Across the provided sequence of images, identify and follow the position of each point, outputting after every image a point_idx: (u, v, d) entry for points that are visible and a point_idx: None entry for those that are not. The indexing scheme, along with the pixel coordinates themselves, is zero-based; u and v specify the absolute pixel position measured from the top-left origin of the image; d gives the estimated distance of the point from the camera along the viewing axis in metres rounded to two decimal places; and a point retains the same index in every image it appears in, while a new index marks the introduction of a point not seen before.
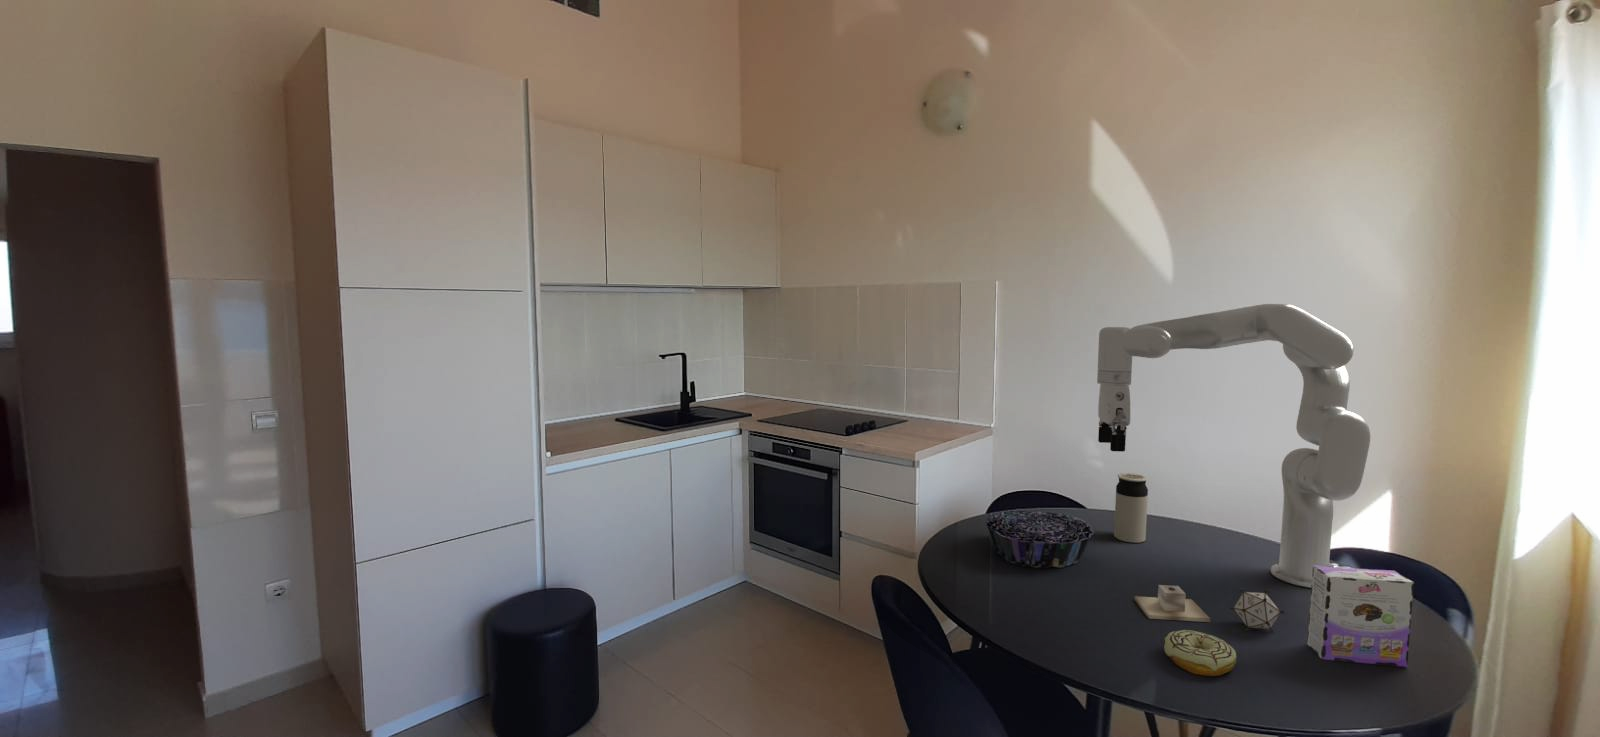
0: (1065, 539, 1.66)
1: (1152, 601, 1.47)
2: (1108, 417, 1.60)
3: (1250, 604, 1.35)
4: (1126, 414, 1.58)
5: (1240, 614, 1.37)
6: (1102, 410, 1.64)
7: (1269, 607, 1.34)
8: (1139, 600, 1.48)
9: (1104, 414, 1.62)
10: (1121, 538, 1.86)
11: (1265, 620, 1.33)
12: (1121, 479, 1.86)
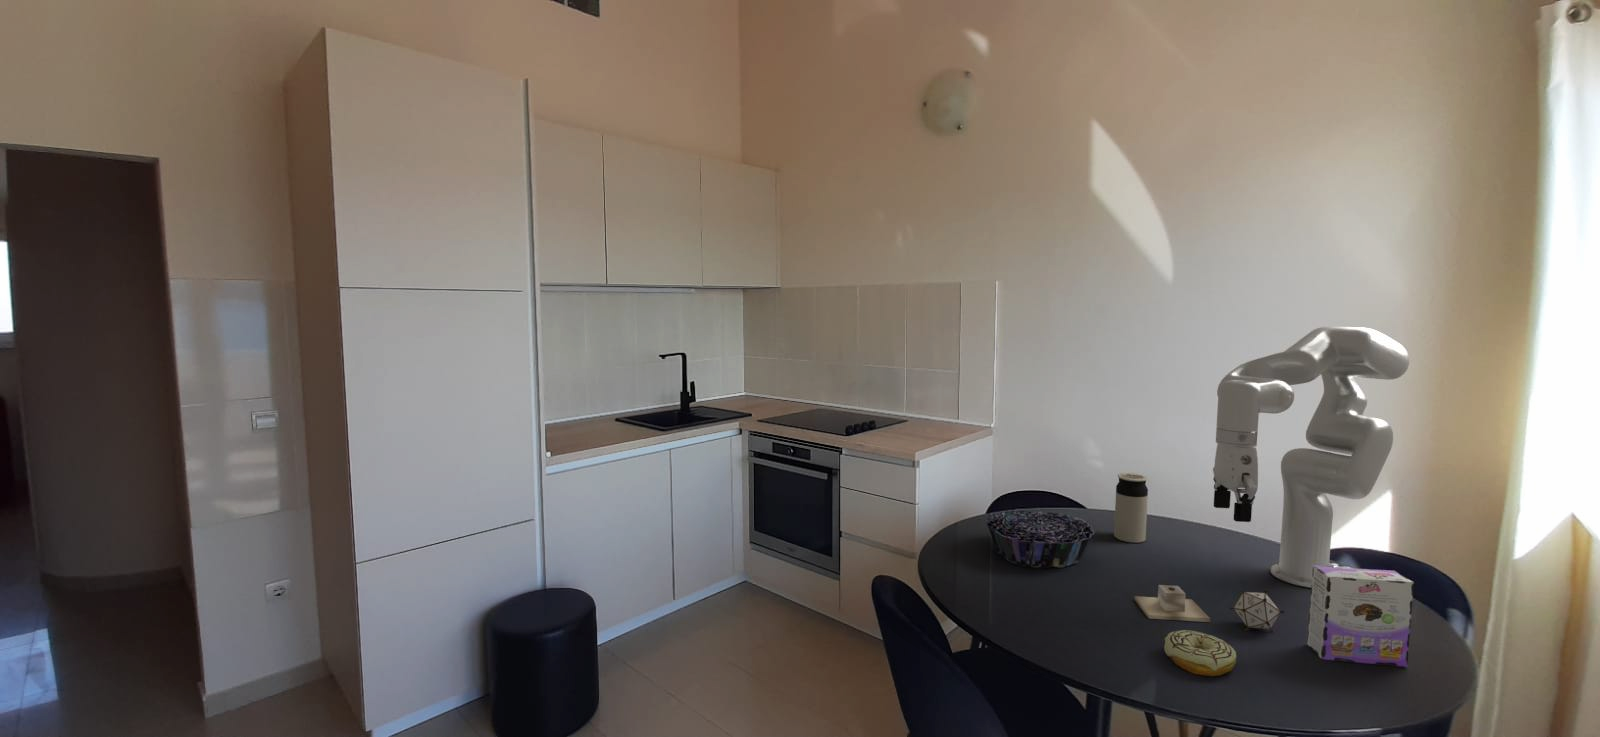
0: (1065, 539, 1.66)
1: (1152, 601, 1.47)
2: (1232, 482, 1.42)
3: (1250, 604, 1.35)
4: (1253, 480, 1.41)
5: (1240, 614, 1.37)
6: (1222, 473, 1.46)
7: (1269, 607, 1.34)
8: (1139, 600, 1.48)
9: (1225, 478, 1.45)
10: (1121, 538, 1.86)
11: (1265, 620, 1.33)
12: (1121, 479, 1.86)
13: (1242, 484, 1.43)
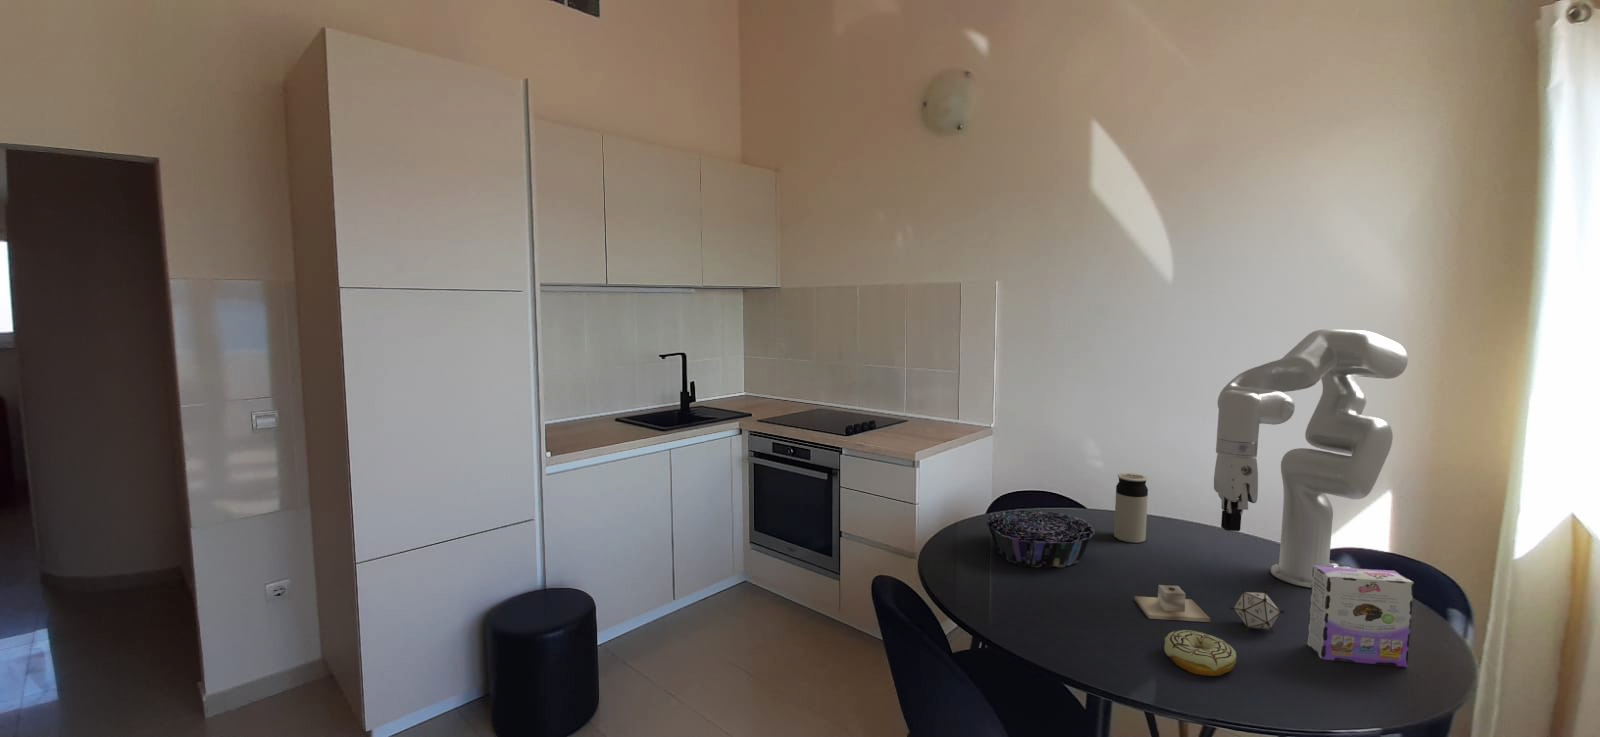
0: (1066, 539, 1.66)
1: (1152, 601, 1.47)
2: (1231, 493, 1.42)
3: (1250, 604, 1.35)
4: (1253, 491, 1.41)
5: (1240, 614, 1.37)
6: (1222, 483, 1.46)
7: (1269, 607, 1.34)
8: (1139, 600, 1.48)
9: (1225, 488, 1.45)
10: (1121, 538, 1.86)
11: (1265, 620, 1.33)
12: (1121, 479, 1.86)
13: None
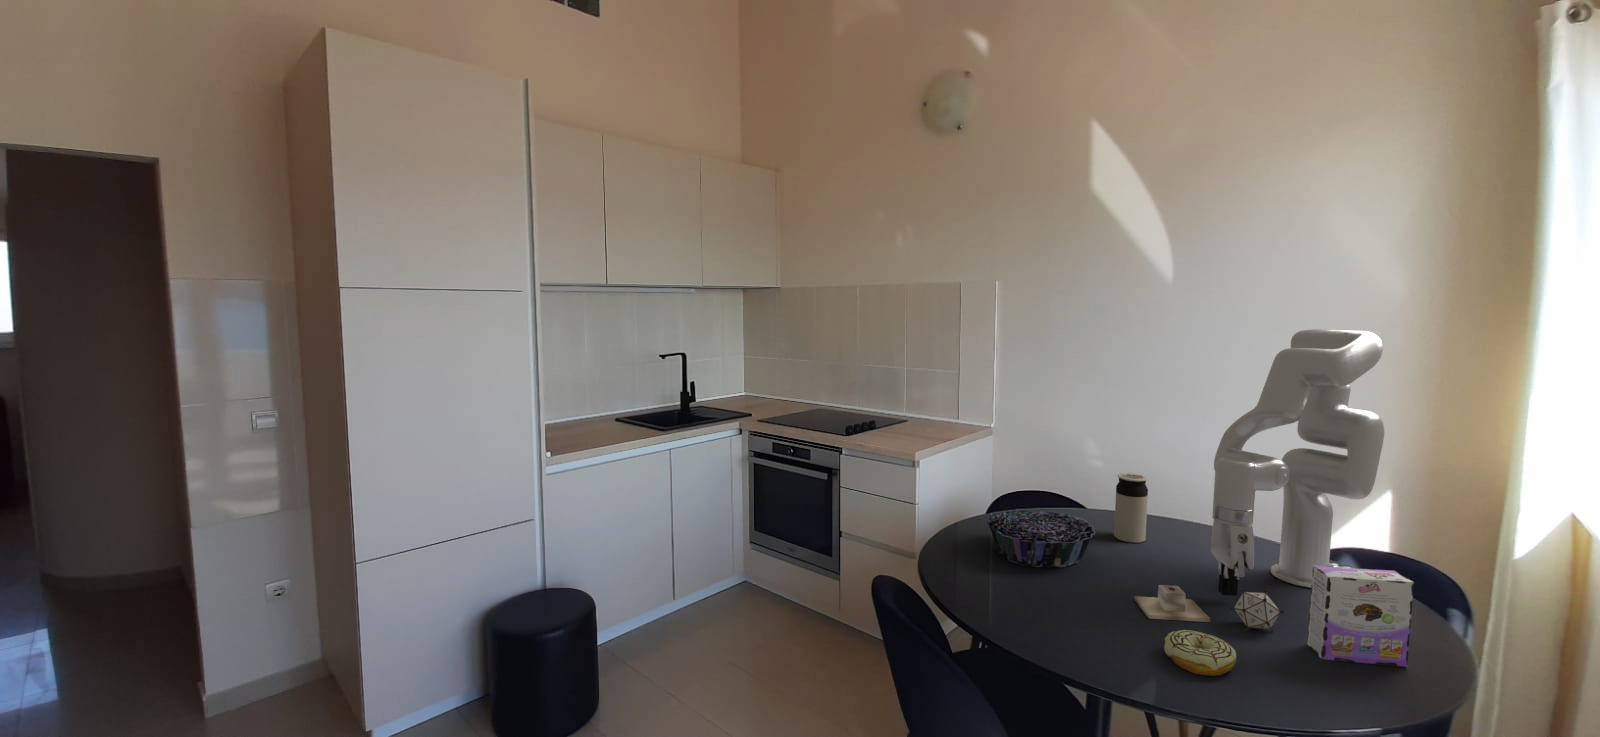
0: (1067, 539, 1.66)
1: (1152, 601, 1.47)
2: (1228, 560, 1.44)
3: (1250, 604, 1.35)
4: (1250, 558, 1.42)
5: (1240, 614, 1.37)
6: (1218, 548, 1.48)
7: (1269, 607, 1.34)
8: (1139, 600, 1.48)
9: (1222, 554, 1.46)
10: (1121, 538, 1.86)
11: (1265, 620, 1.33)
12: (1121, 479, 1.86)
13: None
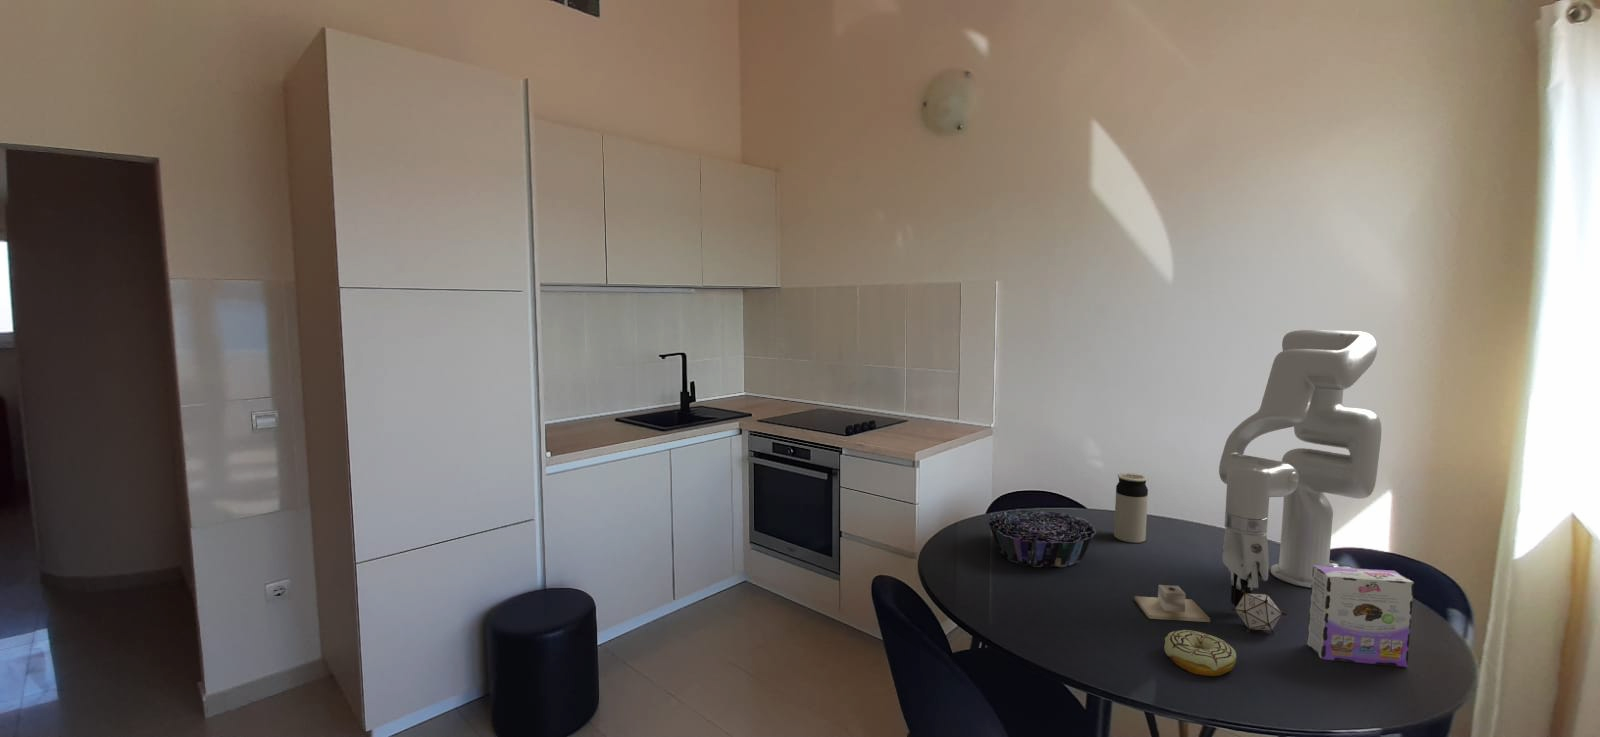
0: (1067, 539, 1.66)
1: (1152, 601, 1.47)
2: (1241, 570, 1.38)
3: (1251, 605, 1.34)
4: (1264, 569, 1.37)
5: (1241, 615, 1.36)
6: (1231, 558, 1.42)
7: (1270, 608, 1.33)
8: (1139, 600, 1.48)
9: (1234, 564, 1.41)
10: (1121, 538, 1.86)
11: (1266, 621, 1.32)
12: (1121, 479, 1.86)
13: None
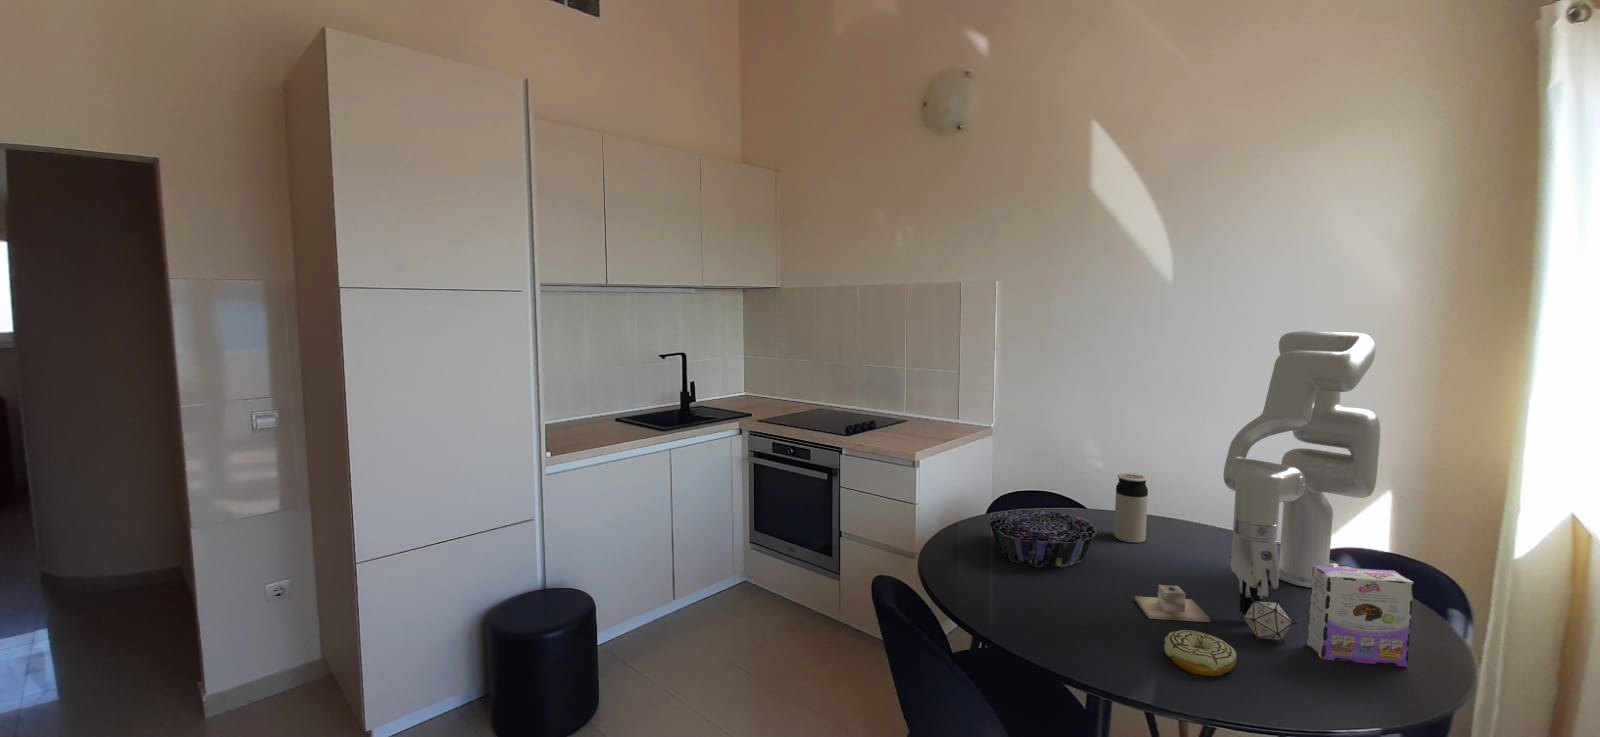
0: (1068, 539, 1.66)
1: (1152, 601, 1.47)
2: (1251, 578, 1.35)
3: (1260, 614, 1.31)
4: (1274, 577, 1.33)
5: (1250, 624, 1.33)
6: (1240, 565, 1.39)
7: (1280, 617, 1.29)
8: (1139, 600, 1.48)
9: (1243, 572, 1.37)
10: (1121, 538, 1.86)
11: (1275, 630, 1.29)
12: (1121, 479, 1.86)
13: None
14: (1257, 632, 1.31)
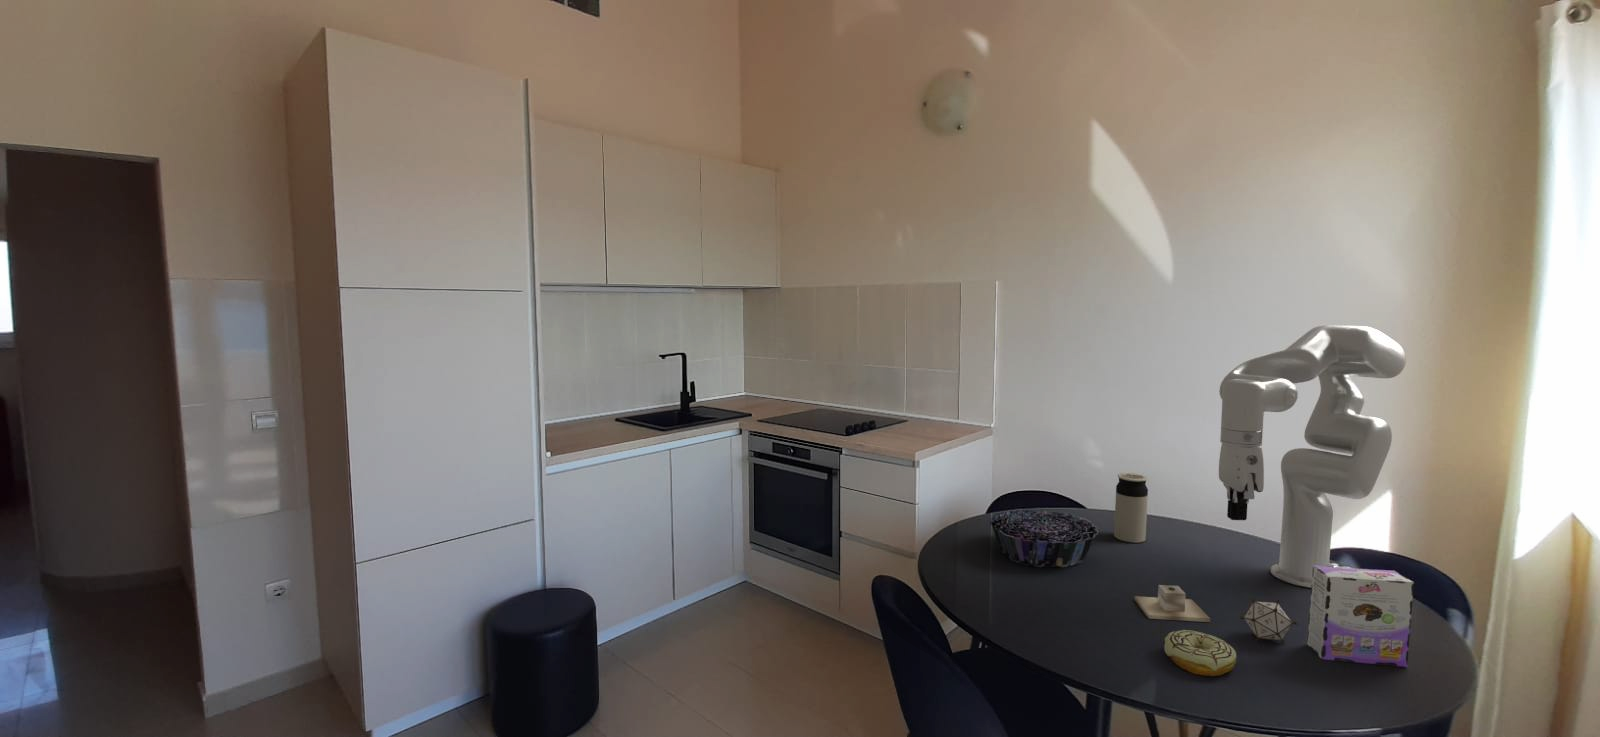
0: (1069, 539, 1.66)
1: (1152, 601, 1.47)
2: (1237, 483, 1.41)
3: (1260, 614, 1.31)
4: (1259, 480, 1.39)
5: (1250, 624, 1.33)
6: (1227, 473, 1.45)
7: (1280, 617, 1.29)
8: (1139, 600, 1.48)
9: (1230, 478, 1.44)
10: (1121, 538, 1.86)
11: (1275, 630, 1.29)
12: (1121, 479, 1.86)
13: None
14: (1257, 632, 1.31)
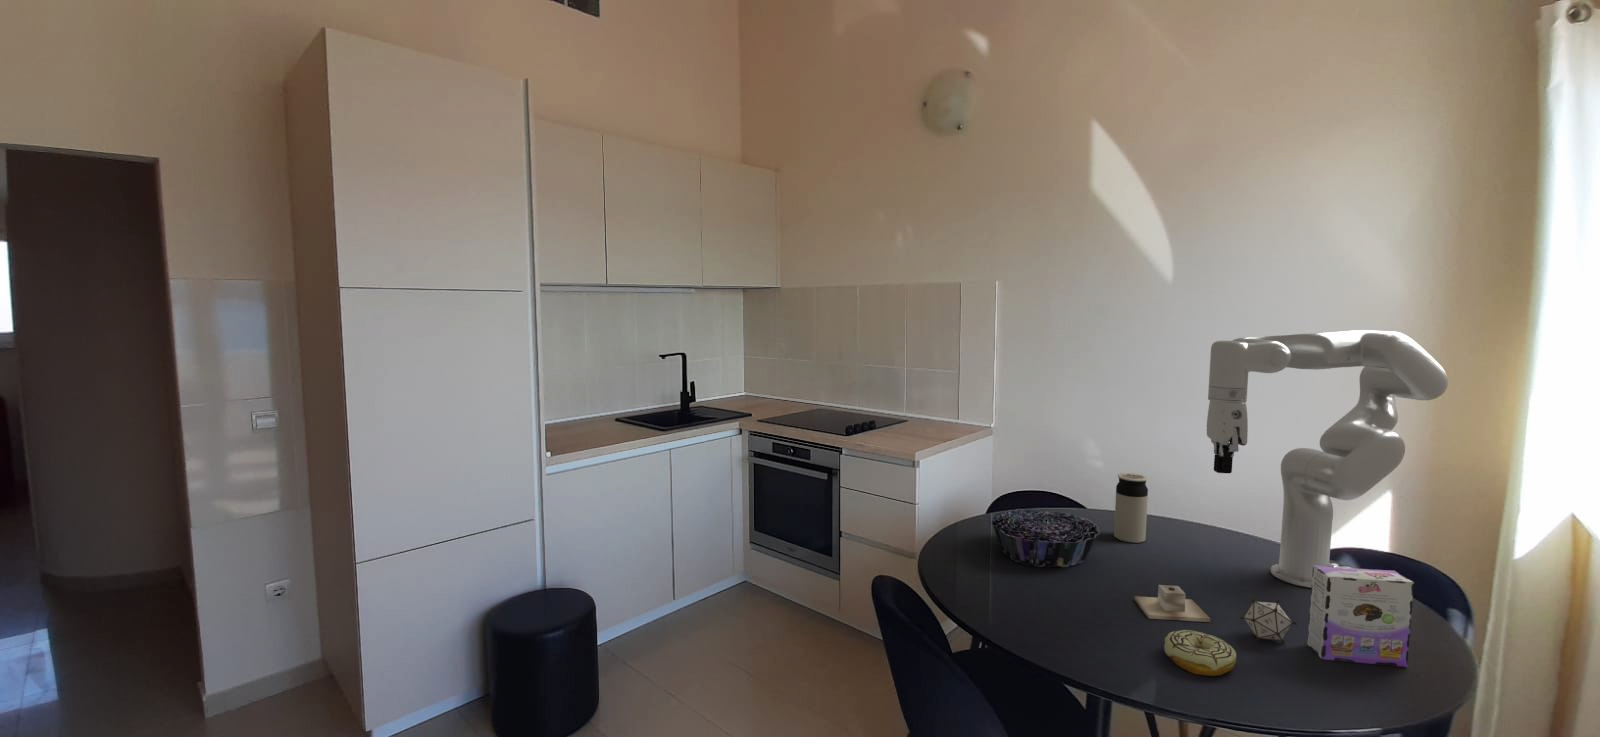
0: (1069, 539, 1.66)
1: (1152, 601, 1.47)
2: (1223, 436, 1.51)
3: (1260, 614, 1.31)
4: (1243, 433, 1.49)
5: (1250, 624, 1.33)
6: (1214, 428, 1.55)
7: (1280, 617, 1.29)
8: (1139, 600, 1.48)
9: (1217, 433, 1.53)
10: (1121, 538, 1.86)
11: (1275, 630, 1.29)
12: (1121, 479, 1.86)
13: None
14: (1257, 632, 1.31)
